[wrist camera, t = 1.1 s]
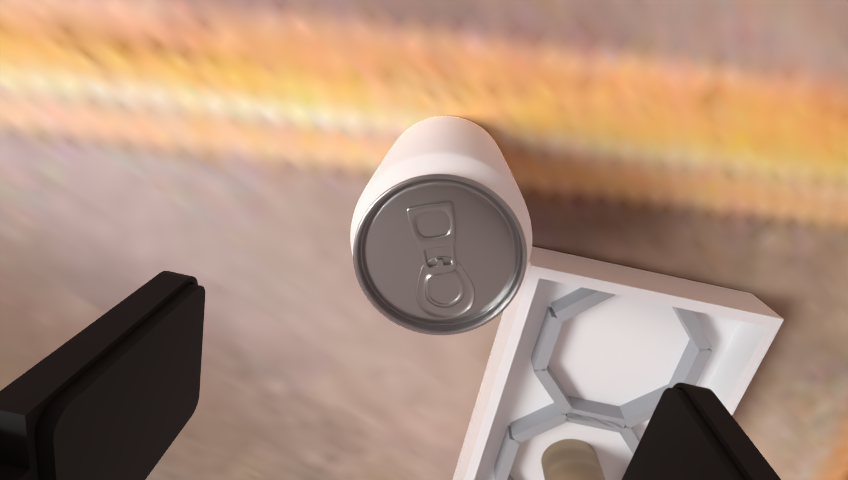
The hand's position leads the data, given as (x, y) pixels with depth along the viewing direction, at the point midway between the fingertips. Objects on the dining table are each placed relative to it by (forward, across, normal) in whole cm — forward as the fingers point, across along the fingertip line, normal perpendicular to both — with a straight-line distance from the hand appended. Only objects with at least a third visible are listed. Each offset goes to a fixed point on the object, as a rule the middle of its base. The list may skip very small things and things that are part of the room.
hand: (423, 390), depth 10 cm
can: (+19, 0, 0) cm, 19 cm away
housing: (+18, -12, +14) cm, 26 cm away
